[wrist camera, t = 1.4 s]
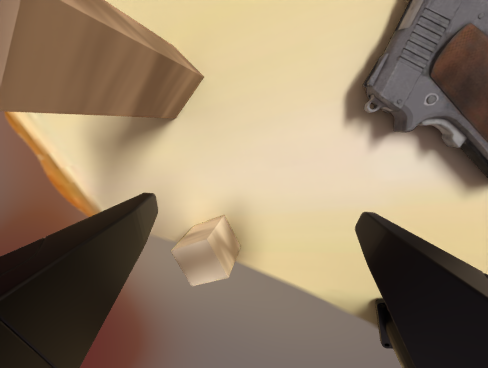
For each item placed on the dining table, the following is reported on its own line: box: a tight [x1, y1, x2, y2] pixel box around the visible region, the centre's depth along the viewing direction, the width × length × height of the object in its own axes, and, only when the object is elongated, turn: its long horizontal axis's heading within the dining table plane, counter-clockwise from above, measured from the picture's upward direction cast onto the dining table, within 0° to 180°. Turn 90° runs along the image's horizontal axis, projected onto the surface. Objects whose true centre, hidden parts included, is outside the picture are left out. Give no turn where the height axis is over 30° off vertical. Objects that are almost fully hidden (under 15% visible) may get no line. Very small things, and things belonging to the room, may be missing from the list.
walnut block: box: [0, 0, 204, 118], centre depth 13 cm, size 4×5×13 cm
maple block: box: [171, 215, 241, 286], centre depth 21 cm, size 4×4×5 cm
